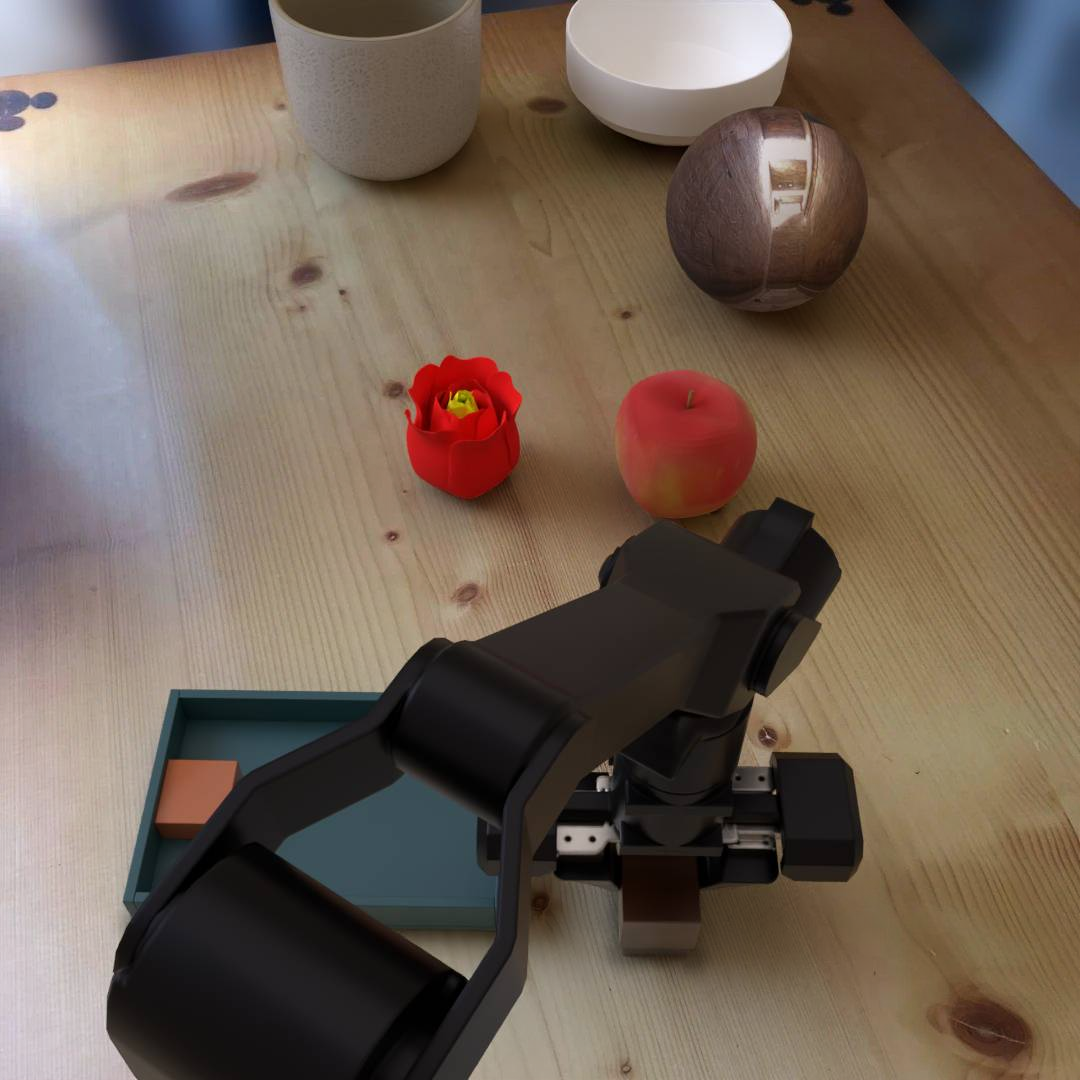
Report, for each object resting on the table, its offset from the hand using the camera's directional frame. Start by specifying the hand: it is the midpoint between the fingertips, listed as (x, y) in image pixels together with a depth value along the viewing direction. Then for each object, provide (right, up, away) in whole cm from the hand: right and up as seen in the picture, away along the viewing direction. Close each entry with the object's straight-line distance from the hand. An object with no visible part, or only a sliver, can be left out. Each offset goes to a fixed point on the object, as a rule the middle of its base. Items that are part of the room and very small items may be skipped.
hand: (653, 883), depth 71 cm
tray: (-18, +3, +4) cm, 19 cm away
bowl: (+6, +58, +48) cm, 76 cm away
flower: (-11, +23, +20) cm, 33 cm away
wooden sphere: (+11, +39, +33) cm, 52 cm away
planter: (-20, +54, +45) cm, 73 cm away
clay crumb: (-25, +3, +3) cm, 26 cm away
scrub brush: (0, -1, +1) cm, 1 cm away
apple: (+3, +22, +19) cm, 29 cm away
